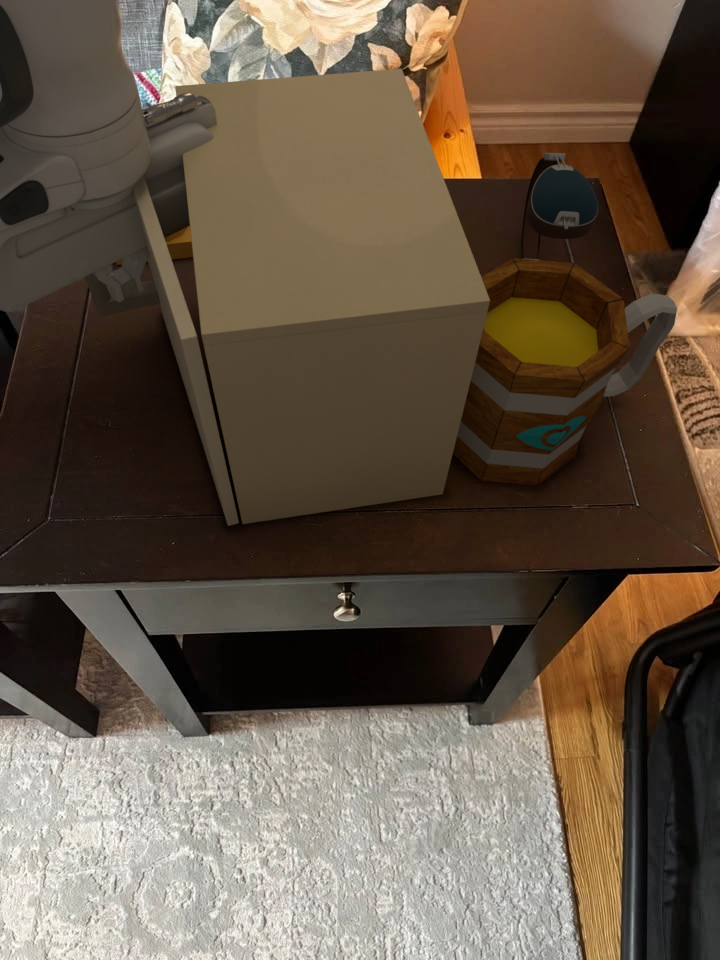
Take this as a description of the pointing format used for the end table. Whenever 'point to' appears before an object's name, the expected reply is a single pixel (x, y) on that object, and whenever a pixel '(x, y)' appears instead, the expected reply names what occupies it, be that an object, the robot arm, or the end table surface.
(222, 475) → the door
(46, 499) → the end table surface
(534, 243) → the headphones
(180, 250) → the switch box
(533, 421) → the mug
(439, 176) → the cupboard
